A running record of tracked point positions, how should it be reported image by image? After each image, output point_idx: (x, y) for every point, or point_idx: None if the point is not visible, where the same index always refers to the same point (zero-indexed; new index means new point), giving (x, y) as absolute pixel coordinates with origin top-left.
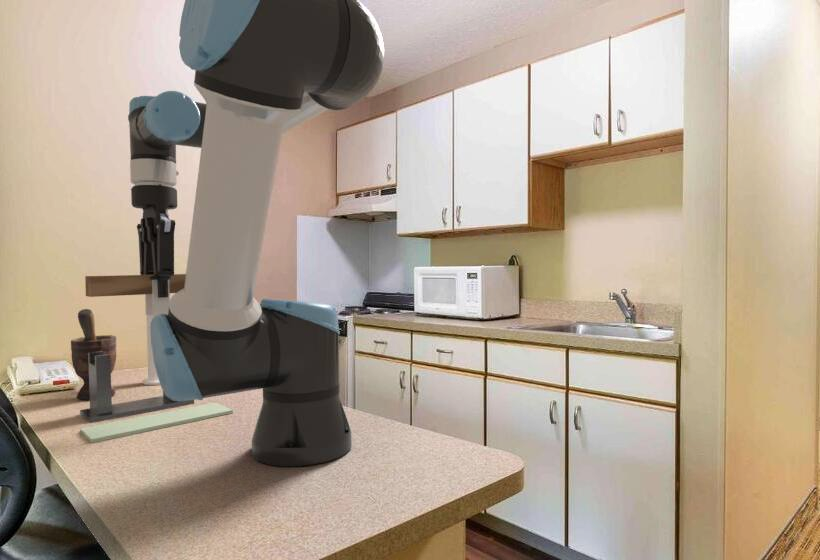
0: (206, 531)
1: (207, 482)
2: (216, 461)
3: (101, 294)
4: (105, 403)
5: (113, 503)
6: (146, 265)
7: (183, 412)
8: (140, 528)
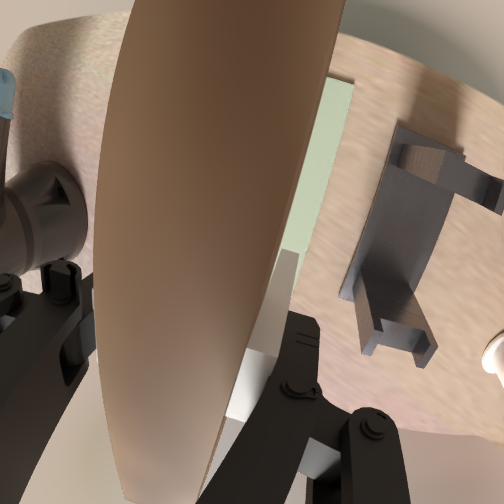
0: (10, 70)
1: (51, 102)
2: (79, 134)
3: None
4: (404, 158)
5: (77, 28)
6: (230, 452)
7: (283, 234)
8: (37, 37)
